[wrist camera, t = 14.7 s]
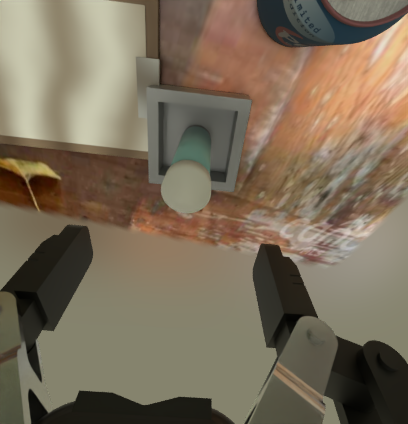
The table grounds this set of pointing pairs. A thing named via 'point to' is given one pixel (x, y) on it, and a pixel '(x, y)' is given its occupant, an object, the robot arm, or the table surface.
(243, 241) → the table surface
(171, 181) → the marker
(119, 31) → the clipboard
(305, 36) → the soda can
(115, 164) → the table surface
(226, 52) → the table surface
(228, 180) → the tray
